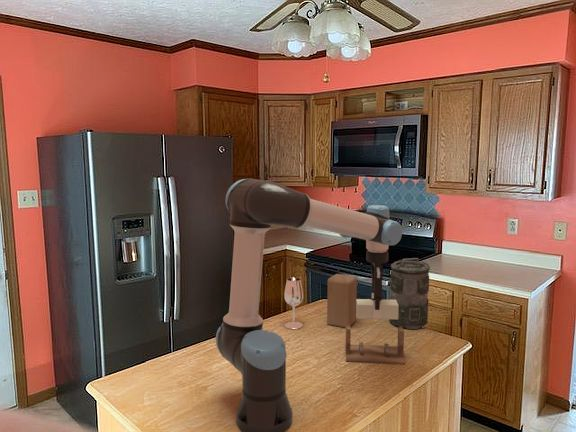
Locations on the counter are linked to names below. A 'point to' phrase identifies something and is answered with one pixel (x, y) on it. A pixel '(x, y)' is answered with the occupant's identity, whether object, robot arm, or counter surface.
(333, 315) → the block
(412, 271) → the canister
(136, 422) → the counter surface
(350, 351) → the peg frame
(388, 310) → the cream rectangular block
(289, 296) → the wineglass
